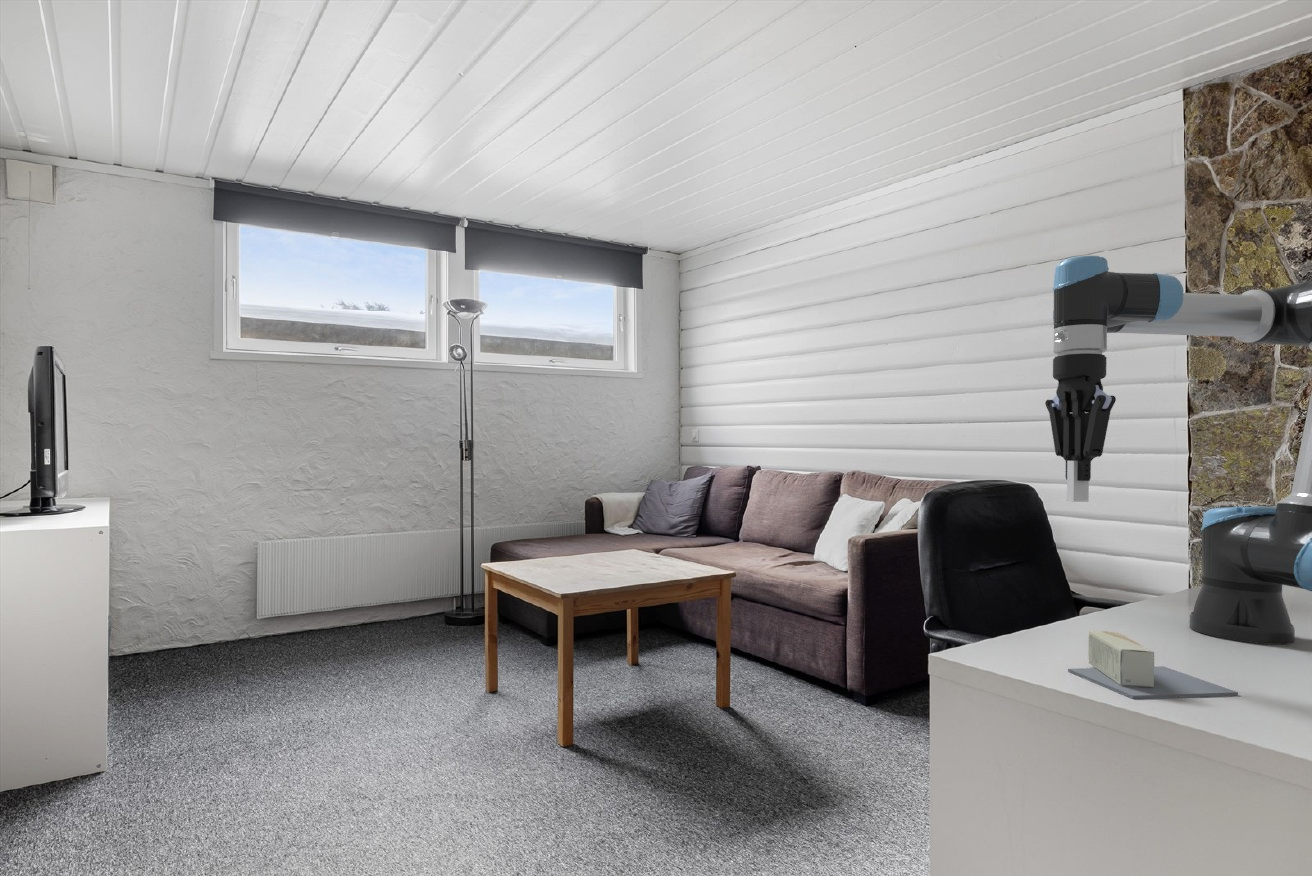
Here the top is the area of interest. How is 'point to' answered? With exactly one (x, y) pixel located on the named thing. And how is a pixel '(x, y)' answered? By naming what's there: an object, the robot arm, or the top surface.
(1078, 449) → the robot arm
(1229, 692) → the mat
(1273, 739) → the top surface
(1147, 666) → the box
